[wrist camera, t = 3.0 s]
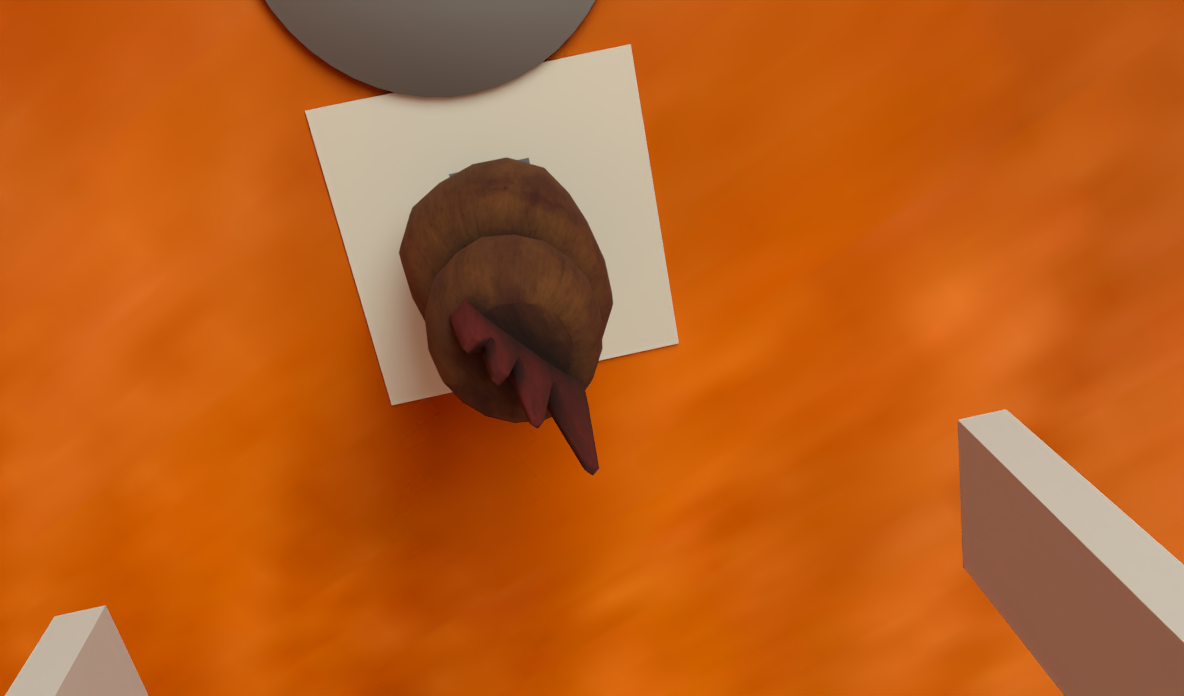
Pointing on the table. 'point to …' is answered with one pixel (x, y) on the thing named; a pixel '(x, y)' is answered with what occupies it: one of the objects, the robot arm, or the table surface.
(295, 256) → the table surface
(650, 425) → the table surface
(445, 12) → the coaster
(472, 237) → the wooden figurine
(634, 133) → the white card
